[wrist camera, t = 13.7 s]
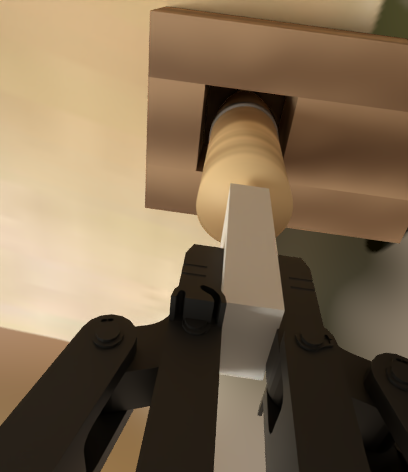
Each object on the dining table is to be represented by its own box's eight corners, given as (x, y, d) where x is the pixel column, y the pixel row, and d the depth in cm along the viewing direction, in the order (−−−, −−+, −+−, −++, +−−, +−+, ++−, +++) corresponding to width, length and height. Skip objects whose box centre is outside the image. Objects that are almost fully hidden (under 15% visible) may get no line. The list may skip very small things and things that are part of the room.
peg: (218, 79, 26) (199, 154, 15) (277, 87, 26) (306, 168, 14) (211, 137, 28) (190, 242, 17) (266, 145, 28) (282, 254, 17)
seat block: (166, 6, 24) (150, 10, 20) (448, 44, 24) (491, 56, 20) (158, 177, 31) (145, 207, 27) (378, 208, 30) (399, 243, 26)
